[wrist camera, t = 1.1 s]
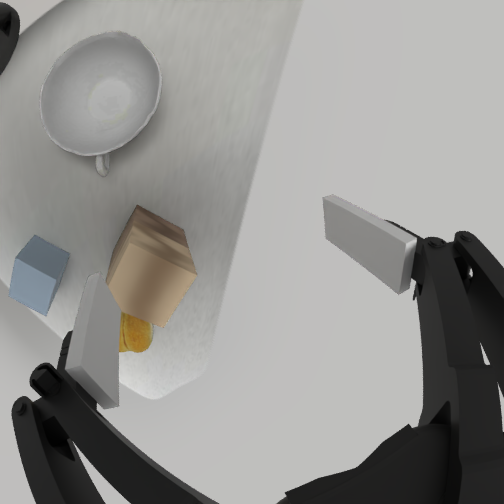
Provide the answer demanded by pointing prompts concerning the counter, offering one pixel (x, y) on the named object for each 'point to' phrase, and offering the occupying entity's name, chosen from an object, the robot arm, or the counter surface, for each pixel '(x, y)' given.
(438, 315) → the robot arm
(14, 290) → the slate block
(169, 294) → the tower mid
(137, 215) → the tower base
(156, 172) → the counter surface
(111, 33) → the teacup
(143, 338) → the bread roll
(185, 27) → the counter surface
